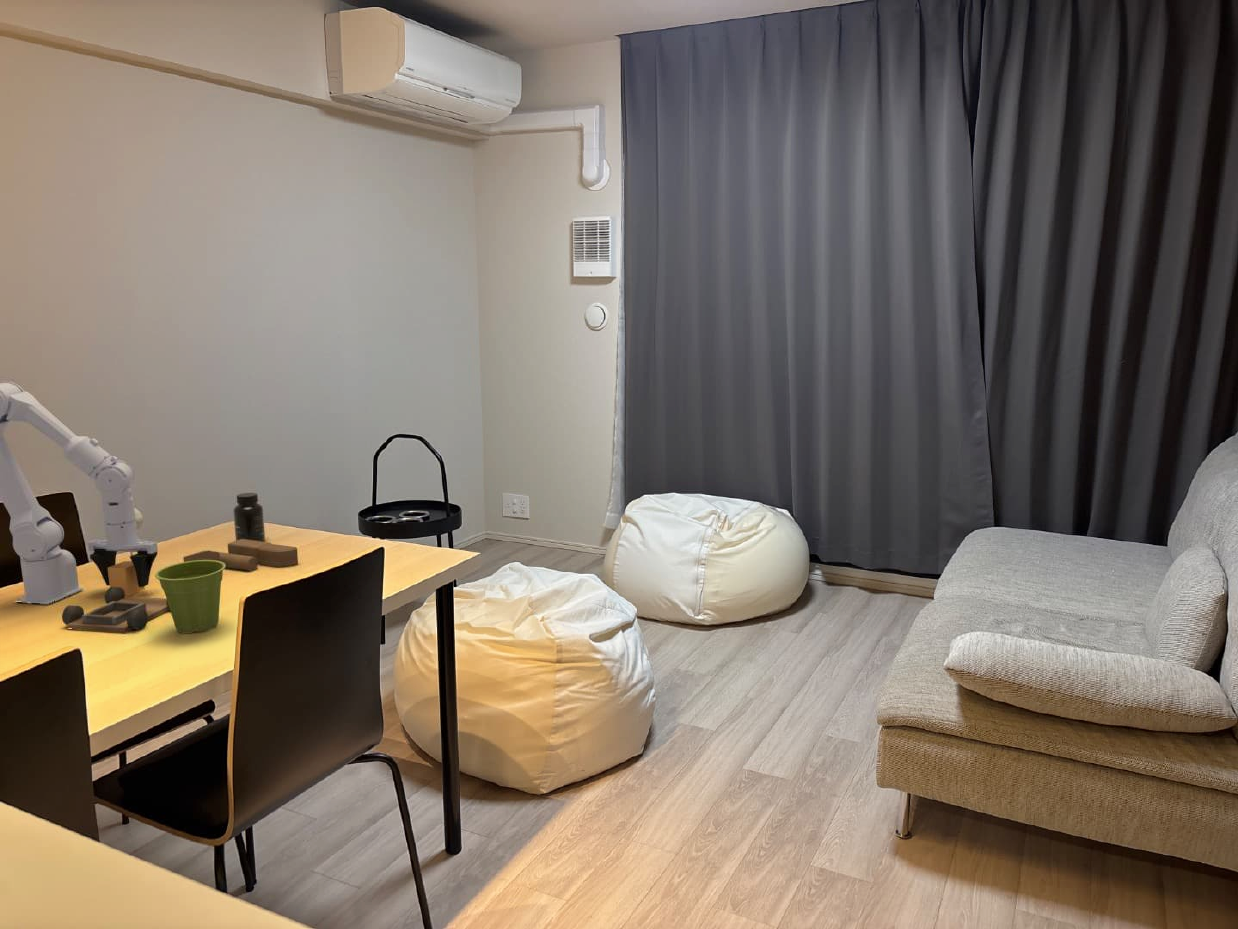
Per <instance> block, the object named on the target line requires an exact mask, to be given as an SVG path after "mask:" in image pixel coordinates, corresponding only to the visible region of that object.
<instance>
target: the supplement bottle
mask: <svg viewBox="0 0 1238 929" xmlns="http://www.w3.org/2000/svg"><path fill="white" fill-rule="evenodd" d="M258 498H259V496H258V493H257V492H256V493H255V492H243V493H238V494H237V495H236V503H237V505H235V506H234V508H233V512H232V513H233V522H234V523H233V524H234V534H235V536H234V537H235V541H237V540H240V539H246V540H254V541H261V542H265V539H266V533H265V520H264V509H263V506H262V505H261V504H260V503H258V502H259V499H258Z"/></svg>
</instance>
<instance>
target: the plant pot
mask: <svg viewBox="0 0 1238 929" xmlns="http://www.w3.org/2000/svg"><path fill="white" fill-rule="evenodd" d="M225 569H226V565H225V563H223V562H221V561H216V560H195V561H188V562H184V561H183V562H182V561H181V562H177V563H173V564H170V565H168V566H165V567H163V568H160V569H158V570H157V571H156V572H155V574H154V576H155V578H156V579H158V580H159V583H160V586H161V589H162V591H163V592H164V596H165V599H167V602H168V605H169V608H170V610H169V611H170V616H171V618H172V621H173V625H174V627H175V630H176V631H177V632H179V633H182V634H183V633H184V634H192V633H194V632H199V633H200V632H203V633H204V632H207V631H209V630H211V629H214V628H215V627H216V626H217V625H218V624H219V620H220V606H221V605H220V604H221V602H220V601H221V588H222V580H223V575H224V574H223V573H224V572H223V571H224V570H225Z"/></svg>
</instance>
